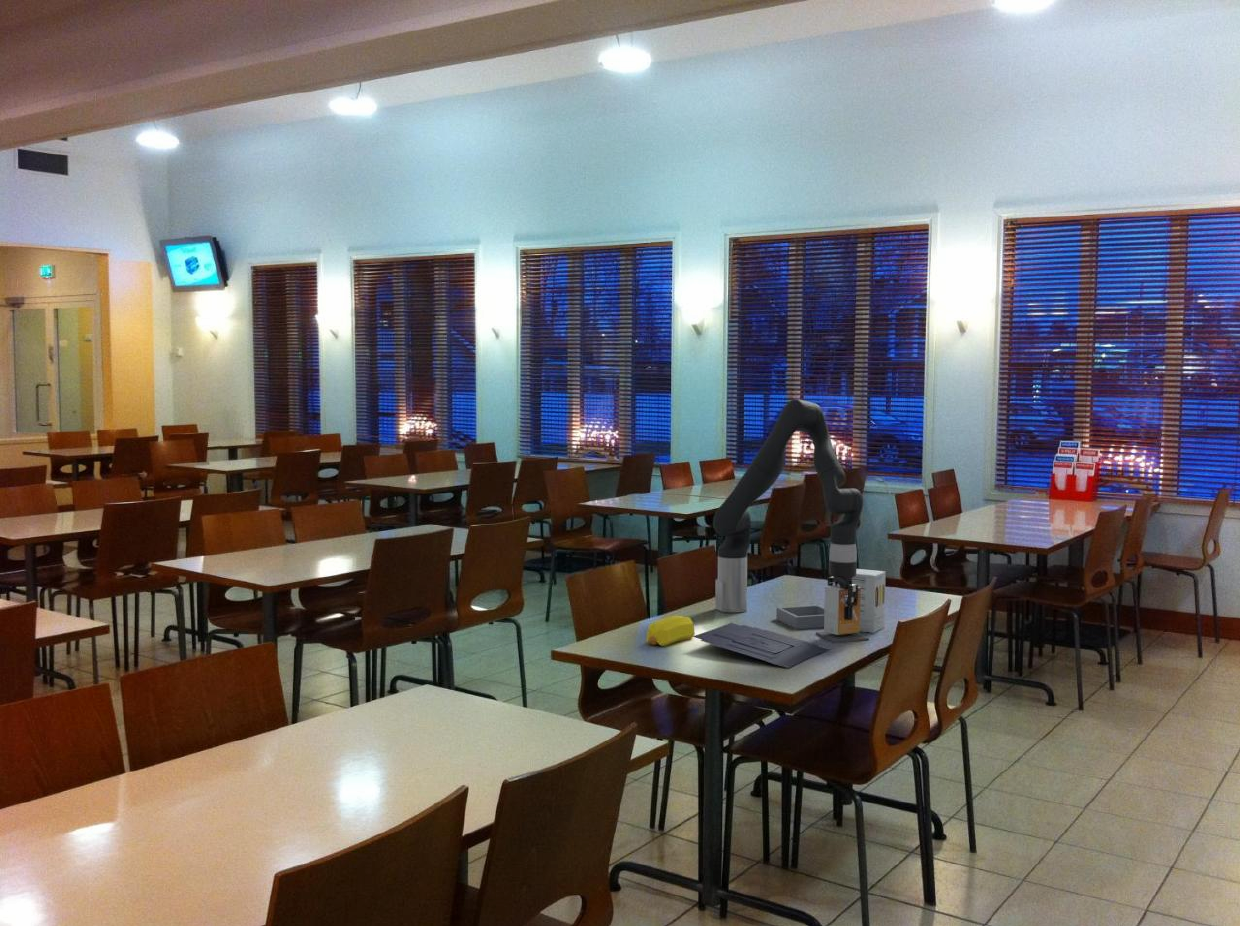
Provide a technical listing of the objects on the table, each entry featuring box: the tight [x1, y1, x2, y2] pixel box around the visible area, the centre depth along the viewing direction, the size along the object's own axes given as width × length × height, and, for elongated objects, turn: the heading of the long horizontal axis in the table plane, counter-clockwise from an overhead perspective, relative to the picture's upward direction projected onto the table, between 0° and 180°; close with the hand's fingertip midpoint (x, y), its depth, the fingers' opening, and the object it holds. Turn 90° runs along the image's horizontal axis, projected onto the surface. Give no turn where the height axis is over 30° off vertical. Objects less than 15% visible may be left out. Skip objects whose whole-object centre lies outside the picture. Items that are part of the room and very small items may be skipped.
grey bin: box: [775, 604, 825, 630], centre depth 329 cm, size 14×14×4 cm
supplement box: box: [852, 568, 886, 634], centre depth 321 cm, size 10×9×17 cm
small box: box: [823, 585, 861, 635], centre depth 310 cm, size 8×6×13 cm
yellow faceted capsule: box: [646, 615, 696, 647], centre depth 306 cm, size 18×7×8 cm
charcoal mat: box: [815, 630, 870, 644], centre depth 310 cm, size 11×11×1 cm
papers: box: [692, 622, 830, 669], centre depth 295 cm, size 24×30×4 cm
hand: (842, 616), depth 310 cm, fingers closed on small box, 7 cm apart
